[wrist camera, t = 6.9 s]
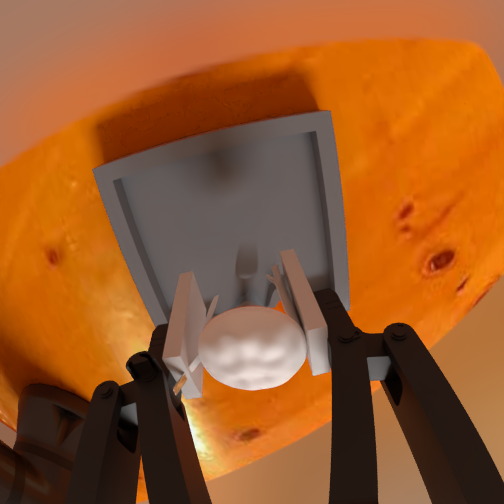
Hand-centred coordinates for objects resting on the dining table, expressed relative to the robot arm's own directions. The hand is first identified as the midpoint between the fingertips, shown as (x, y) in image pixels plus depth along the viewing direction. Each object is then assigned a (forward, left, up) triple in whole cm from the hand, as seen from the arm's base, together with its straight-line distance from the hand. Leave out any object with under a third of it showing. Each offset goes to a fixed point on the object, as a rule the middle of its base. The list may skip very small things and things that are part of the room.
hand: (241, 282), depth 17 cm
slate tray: (0, 0, -7) cm, 7 cm away
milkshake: (0, 0, -3) cm, 3 cm away
